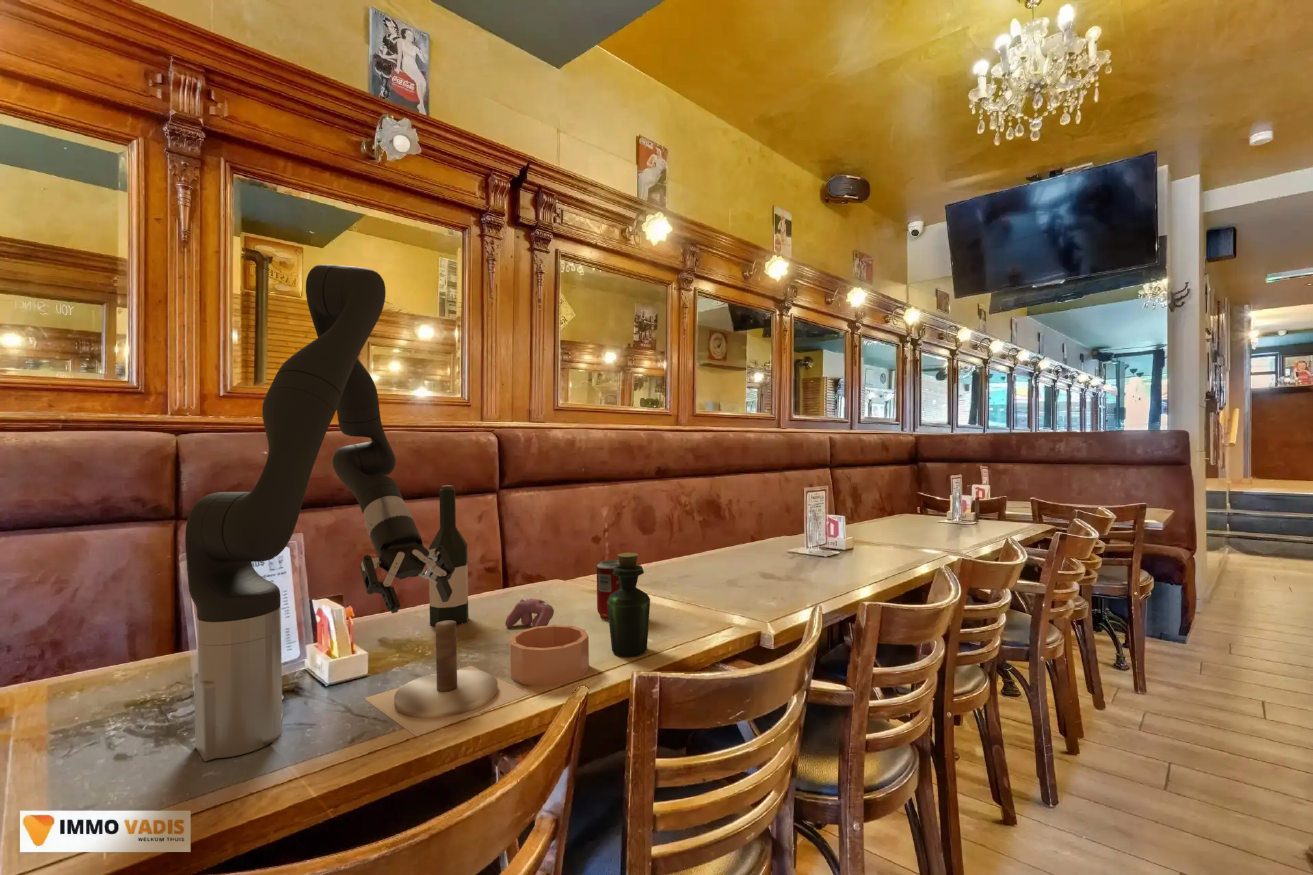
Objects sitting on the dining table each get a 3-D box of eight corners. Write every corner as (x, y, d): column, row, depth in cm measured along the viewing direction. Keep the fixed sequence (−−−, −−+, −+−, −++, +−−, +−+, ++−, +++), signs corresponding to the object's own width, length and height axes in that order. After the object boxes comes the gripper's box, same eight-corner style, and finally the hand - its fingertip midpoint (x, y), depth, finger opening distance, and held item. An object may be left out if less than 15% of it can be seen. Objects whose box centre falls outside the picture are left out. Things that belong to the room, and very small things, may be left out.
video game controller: (550, 637, 127) (559, 603, 130) (536, 633, 124) (546, 598, 126) (515, 630, 132) (525, 598, 135) (501, 626, 129) (512, 593, 132)
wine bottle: (456, 628, 129) (454, 487, 130) (421, 626, 131) (419, 487, 131) (476, 616, 138) (473, 484, 138) (442, 615, 139) (440, 484, 139)
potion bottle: (647, 642, 118) (646, 549, 118) (654, 657, 110) (653, 557, 110) (605, 645, 117) (604, 551, 117) (609, 660, 109) (608, 559, 109)
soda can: (622, 622, 131) (621, 565, 132) (592, 620, 133) (591, 564, 133) (633, 613, 138) (632, 559, 138) (604, 611, 140) (603, 558, 140)
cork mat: (416, 739, 81) (416, 736, 81) (363, 700, 93) (363, 698, 93) (530, 696, 94) (530, 693, 94) (470, 667, 106) (470, 665, 106)
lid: (422, 728, 83) (420, 646, 83) (377, 698, 93) (376, 625, 93) (516, 693, 94) (515, 621, 94) (467, 669, 104) (465, 604, 104)
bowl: (540, 694, 95) (539, 655, 95) (495, 673, 104) (494, 637, 104) (603, 670, 104) (602, 635, 104) (557, 653, 113) (556, 620, 113)
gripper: (354, 518, 100) (385, 599, 92) (437, 510, 110) (470, 582, 102) (343, 547, 104) (371, 627, 96) (424, 536, 114) (455, 608, 106)
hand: (422, 604), depth 99 cm, fingers open, 8 cm apart
